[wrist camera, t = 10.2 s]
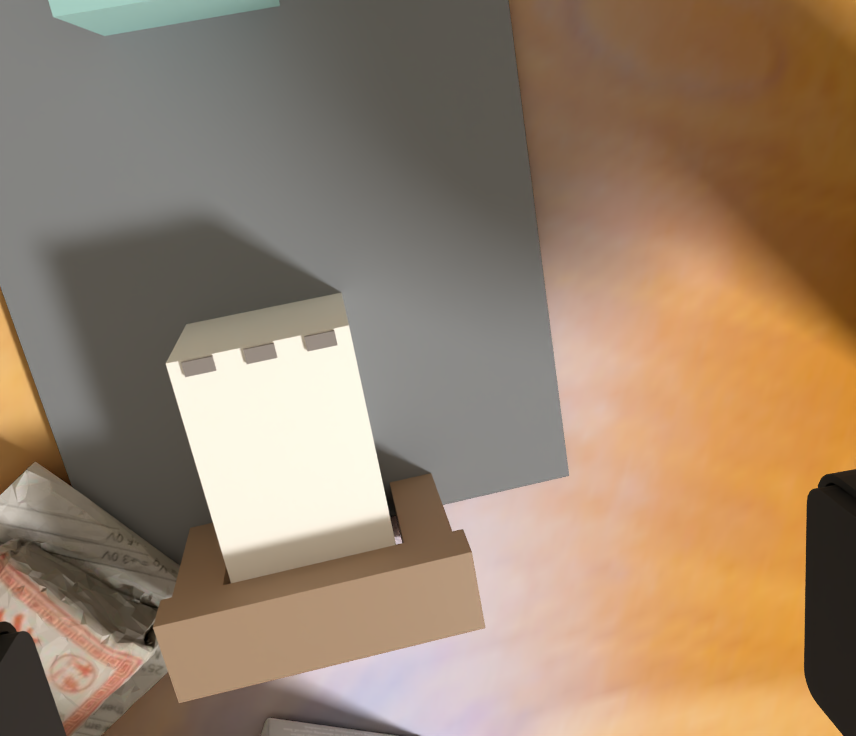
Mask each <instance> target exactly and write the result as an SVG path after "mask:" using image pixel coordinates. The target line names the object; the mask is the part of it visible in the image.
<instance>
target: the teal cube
mask: <svg viewBox="0 0 856 736" xmlns="http://www.w3.org/2000/svg"><path fill="white" fill-rule="evenodd" d="M48 1H49V5H50V8H51V11H52V15H53V17H55V18H57V19H60V20H63V21H65V22H68V23H71V24H73V25H76V26H79V27H81V28H84V29H87V30H90V31H92V32H95V33H98V34H100V35H103V36H108V35H113V34H119V33H125V32H131V31H137V30H142V29H148V28H154V27H160V26H166V25H172V24H177V23H183V22H189V21H195V20H201V19H206V18H212V17H218V16H224V15H230V14H236V13H241V12H247V11H253V10H259V9H265V8H271V7H276V6H280V3H279V0H48Z"/></svg>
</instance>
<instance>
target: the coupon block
mask: <svg viewBox="0 0 856 736" xmlns="http://www.w3.org/2000/svg"><path fill="white" fill-rule="evenodd" d="M166 366H167V370H168V373H169V377H170V380H171V383H172V387H173V390H174V393H175V397H176V400H177V403H178V407H179V410H180V413H181V417H182V420H183V424H184V427H185V430H186V434H187V437H188V440H189V444H190V447H191V450H192V454H193V457H194V460H195V464H196V467H197V471H198V474H199V477H200V481H201V484H202V487H203V491H204V494H205V497H206V501H207V504H208V507H209V511H210V514H211V518H212V521H213V523H209V524H205V525H200V526H196V527H192V528H190V530H189V534H188V538H187V542H186V546H185V550H184V553H183V557H182V561H181V565H180V569H179V572H178V576H177V580H176V584H175V588H174V592H173V595H172V597H171V598H167V599H163V600H160V604H159V608H158V611H157V615H156V618H155V622H154V625H153V629H154V632H155V635H156V638H157V641H158V644H159V647H160V650H161V653H162V656H163V659H164V661H165V664H166V667H167V670H168V673H169V676H170V679H171V682H172V685H173V688H174V691H175V693H176V696H177V699H178V702H179V703H182V702H186V701H191V700H195V699H199V698H203V697H207V696H211V695H215V694H219V693H223V692H227V691H231V690H235V689H239V688H243V687H247V686H252V685H256V684H260V683H264V682H268V681H272V680H276V679H280V678H284V677H288V676H292V675H296V674H300V673H304V672H308V671H313V670H317V669H321V668H325V667H329V666H333V665H337V664H341V663H345V662H349V661H353V660H357V659H361V658H365V657H369V656H374V655H378V654H382V653H386V652H390V651H394V650H398V649H402V648H406V647H410V646H414V645H418V644H422V643H426V642H430V641H435V640H439V639H443V638H447V637H451V636H455V635H459V634H463V633H467V632H471V631H475V630H479V629H483V628H485V623H484V618H483V612H482V607H481V601H480V596H479V590H478V584H477V579H476V573H475V568H474V562H473V556H472V551H471V549H470V546H469V544H468V541H467V538H466V536H465V533H464V531H463V529H461V530H457V531H453V532H452V530H451V527H450V524H449V521H448V518H447V516H446V513H445V510H444V507H443V505H442V502H441V499H440V496H439V493H438V491H437V488H436V485H435V482H434V480H433V477H432V474H431V473H430V474H425V475H421V476H416V477H412V478H408V479H403V480H399V481H394V482H390V487H391V492H392V497H393V501H394V506H395V511H396V515H397V520H398V525H399V530H400V534H401V539H402V544H397V545H396V543H395V538H394V533H393V529H392V524H391V519H390V515H389V510H388V505H387V501H386V496H385V491H384V487H383V482H382V477H381V473H380V468H379V463H378V459H377V454H376V449H375V445H374V440H373V435H372V431H371V426H370V421H369V417H368V412H367V407H366V403H365V398H364V393H363V389H362V384H361V379H360V375H359V370H358V365H357V361H356V356H355V351H354V347H353V342H352V337H351V333H350V328H349V323H348V319H347V315H346V310H345V306H344V301H343V297H342V293H337V294H332V295H327V296H322V297H317V298H312V299H307V300H303V301H298V302H293V303H288V304H283V305H278V306H273V307H268V308H263V309H259V310H254V311H249V312H244V313H239V314H234V315H229V316H224V317H220V318H215V319H210V320H205V321H200V322H195V323H190V324H186V326H185V328H184V330H183V332H182V333H181V335H180V337H179V339H178V341H177V343H176V345H175V347H174V349H173V351H172V352H171V354H170V356H169V358H168V360H167V362H166Z"/></svg>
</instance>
